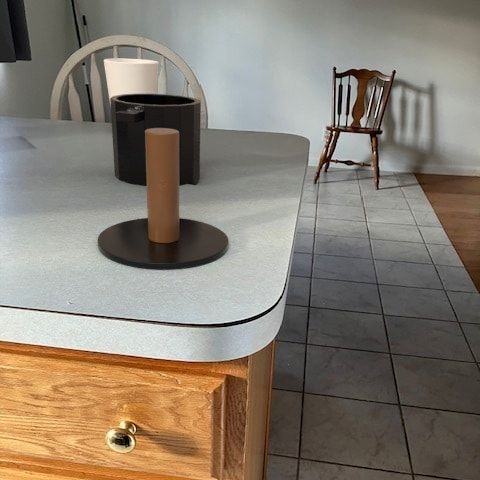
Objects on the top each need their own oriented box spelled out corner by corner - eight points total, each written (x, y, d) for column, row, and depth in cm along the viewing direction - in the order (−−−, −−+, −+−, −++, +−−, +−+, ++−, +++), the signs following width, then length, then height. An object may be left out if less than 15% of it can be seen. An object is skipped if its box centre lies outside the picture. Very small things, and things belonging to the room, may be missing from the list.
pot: (88, 188, 70) (81, 102, 65) (148, 162, 85) (145, 89, 79) (170, 200, 67) (169, 111, 62) (217, 171, 82) (220, 96, 77)
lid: (71, 261, 50) (58, 134, 44) (136, 221, 60) (132, 114, 55) (199, 285, 46) (202, 152, 41) (244, 238, 57) (251, 127, 52)
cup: (168, 137, 103) (167, 63, 97) (118, 140, 98) (114, 62, 92) (148, 127, 110) (146, 58, 104) (101, 130, 105) (96, 57, 99)
